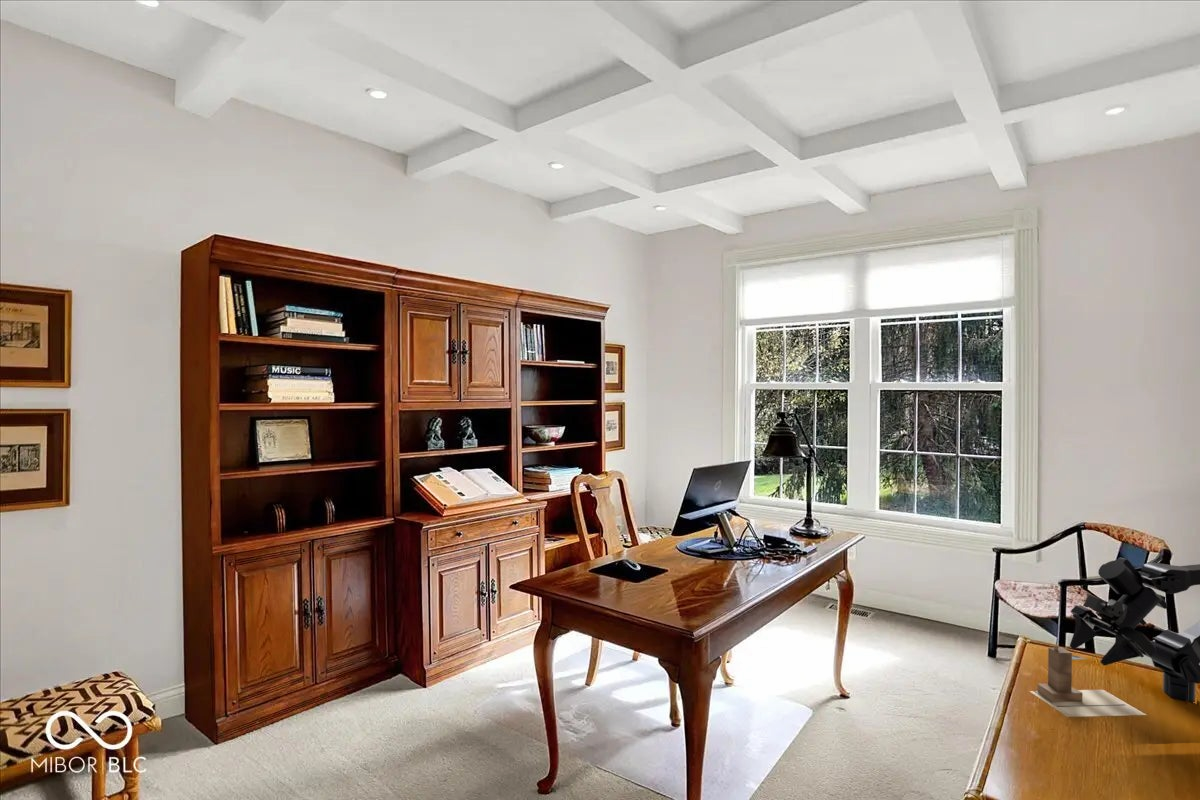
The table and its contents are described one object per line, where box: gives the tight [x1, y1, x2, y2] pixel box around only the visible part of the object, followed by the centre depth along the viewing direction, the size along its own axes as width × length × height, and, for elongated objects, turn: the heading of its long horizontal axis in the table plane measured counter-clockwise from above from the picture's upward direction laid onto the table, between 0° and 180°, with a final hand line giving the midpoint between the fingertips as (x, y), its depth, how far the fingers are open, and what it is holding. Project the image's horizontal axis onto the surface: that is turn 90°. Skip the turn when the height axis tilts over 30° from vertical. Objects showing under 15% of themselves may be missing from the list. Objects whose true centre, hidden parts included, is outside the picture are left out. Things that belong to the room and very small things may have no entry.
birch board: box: [1029, 689, 1147, 718], centre depth 149 cm, size 18×12×2 cm, turn 92°
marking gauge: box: [1036, 644, 1082, 702], centre depth 152 cm, size 7×5×12 cm
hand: (1086, 655), depth 152 cm, fingers open, 9 cm apart
